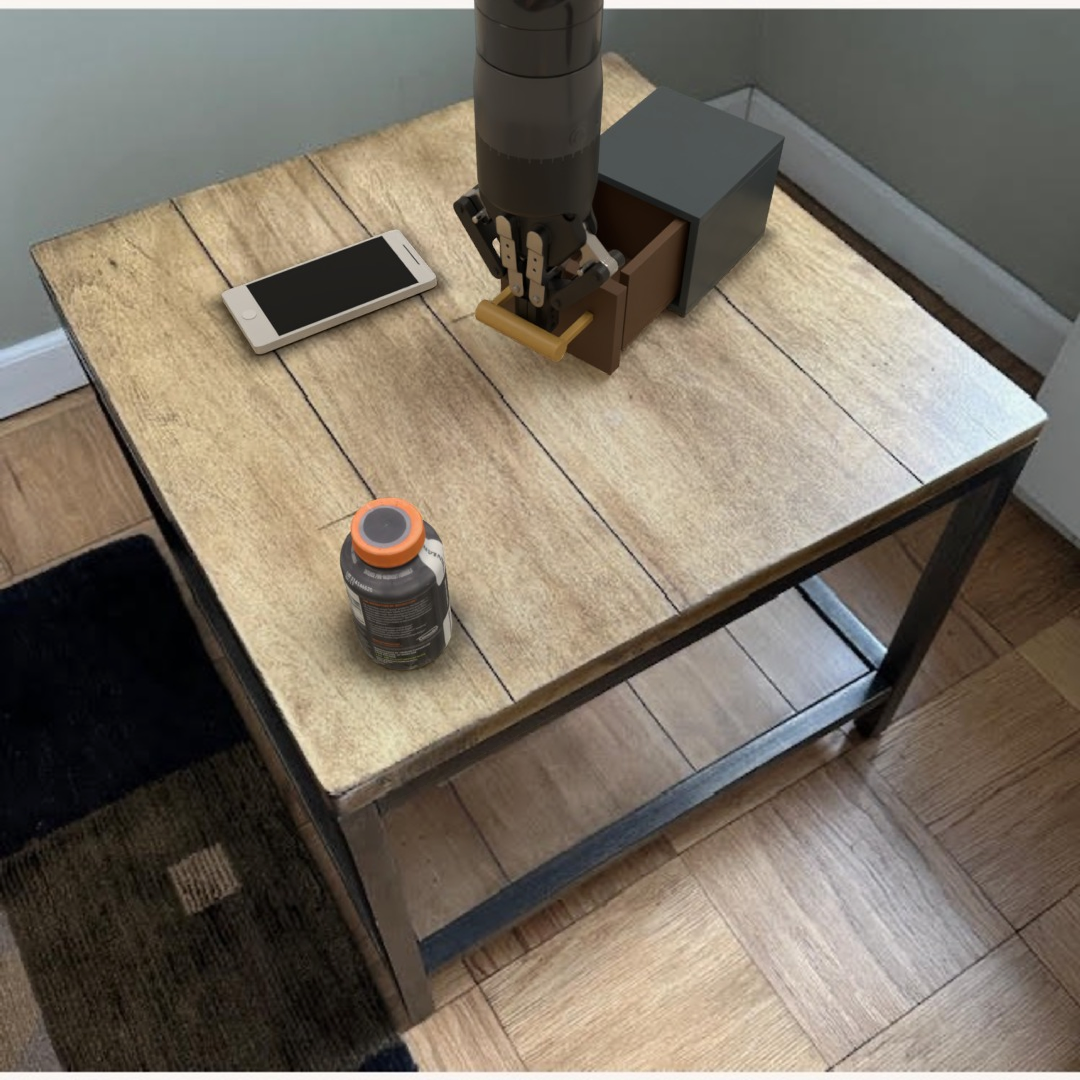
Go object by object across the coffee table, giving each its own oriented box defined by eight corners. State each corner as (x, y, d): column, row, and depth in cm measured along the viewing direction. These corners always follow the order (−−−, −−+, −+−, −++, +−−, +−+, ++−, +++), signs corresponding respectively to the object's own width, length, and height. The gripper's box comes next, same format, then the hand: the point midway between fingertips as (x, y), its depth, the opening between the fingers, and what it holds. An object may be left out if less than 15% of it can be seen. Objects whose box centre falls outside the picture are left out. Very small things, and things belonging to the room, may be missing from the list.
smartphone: (222, 300, 86) (219, 291, 85) (398, 236, 91) (397, 226, 90) (257, 356, 83) (255, 347, 82) (438, 286, 87) (438, 277, 87)
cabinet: (684, 317, 86) (700, 218, 78) (566, 258, 90) (570, 159, 82) (764, 235, 92) (785, 136, 84) (650, 184, 95) (660, 84, 88)
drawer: (570, 416, 78) (574, 337, 72) (460, 354, 82) (454, 274, 76) (692, 292, 86) (705, 211, 80) (586, 241, 90) (591, 159, 83)
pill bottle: (469, 612, 70) (460, 503, 60) (424, 687, 66) (408, 584, 57) (387, 578, 71) (366, 467, 62) (339, 650, 68) (310, 545, 59)
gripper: (666, 127, 64) (641, 342, 78) (490, 50, 69) (496, 267, 83) (592, 190, 61) (580, 404, 75) (411, 105, 65) (432, 321, 79)
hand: (536, 331), depth 79 cm, fingers closed
